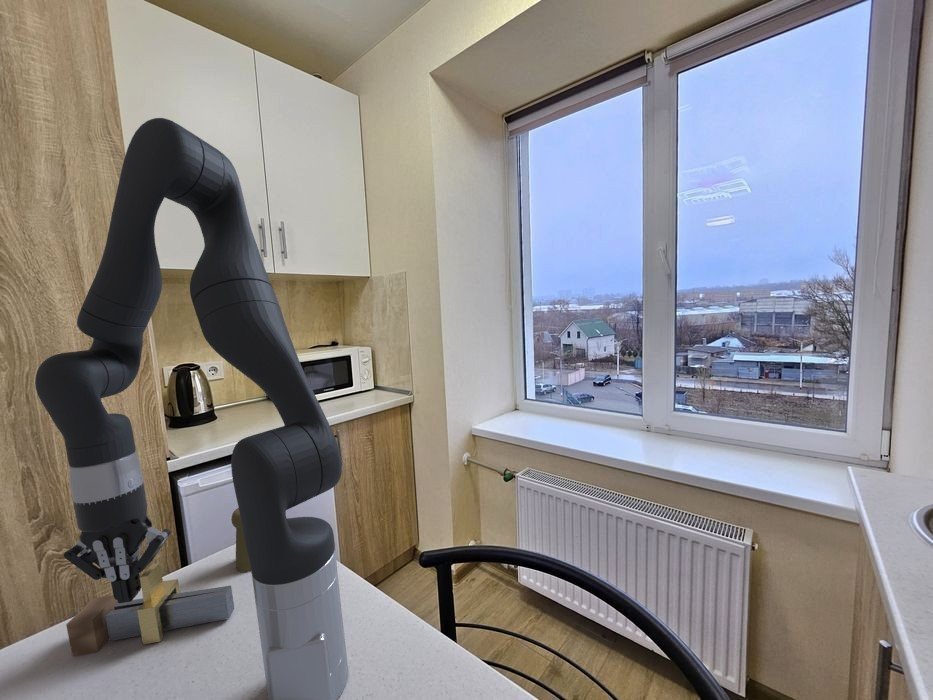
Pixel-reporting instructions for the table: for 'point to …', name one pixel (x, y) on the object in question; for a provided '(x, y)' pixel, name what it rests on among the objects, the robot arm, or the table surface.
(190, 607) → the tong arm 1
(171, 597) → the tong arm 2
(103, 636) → the block
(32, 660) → the table surface
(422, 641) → the table surface
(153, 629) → the collar
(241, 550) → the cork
